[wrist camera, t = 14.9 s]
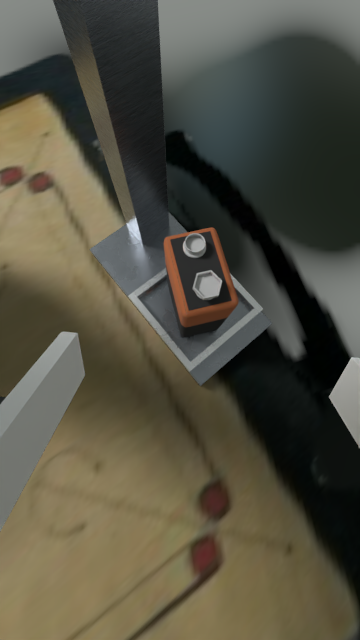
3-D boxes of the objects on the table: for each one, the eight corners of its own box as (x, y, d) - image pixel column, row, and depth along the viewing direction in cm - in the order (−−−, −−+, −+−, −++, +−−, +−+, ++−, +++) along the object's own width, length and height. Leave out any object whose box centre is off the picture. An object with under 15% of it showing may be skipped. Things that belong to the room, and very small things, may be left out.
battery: (181, 339, 26) (183, 315, 16) (166, 281, 27) (160, 228, 18) (219, 329, 26) (245, 301, 16) (203, 273, 28) (218, 216, 18)
